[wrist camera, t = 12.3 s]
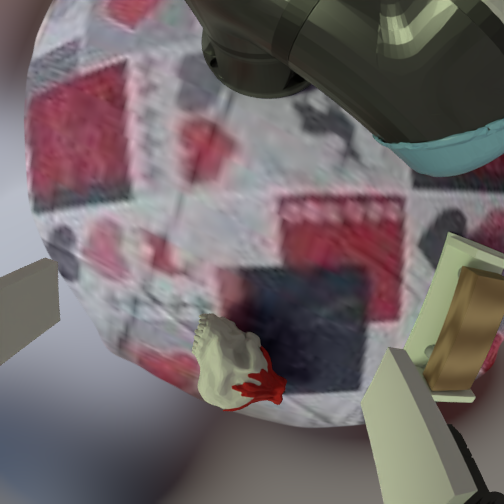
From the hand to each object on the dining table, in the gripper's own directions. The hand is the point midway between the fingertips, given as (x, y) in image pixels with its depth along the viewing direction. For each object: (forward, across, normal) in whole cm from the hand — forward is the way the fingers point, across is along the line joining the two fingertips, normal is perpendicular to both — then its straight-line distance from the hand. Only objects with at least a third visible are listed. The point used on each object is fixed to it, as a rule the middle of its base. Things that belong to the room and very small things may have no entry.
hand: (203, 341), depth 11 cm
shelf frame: (+27, +30, -6) cm, 40 cm away
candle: (+27, +1, -18) cm, 32 cm away
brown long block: (+24, +30, -6) cm, 38 cm away
